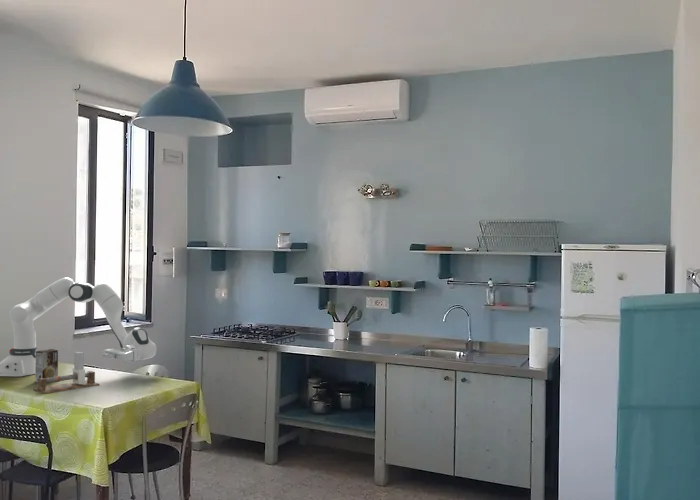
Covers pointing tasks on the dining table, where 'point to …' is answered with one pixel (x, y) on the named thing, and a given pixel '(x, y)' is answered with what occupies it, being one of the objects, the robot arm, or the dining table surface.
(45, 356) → the coffee box
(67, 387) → the pipe stand
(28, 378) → the dining table surface
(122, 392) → the dining table surface
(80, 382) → the collar
